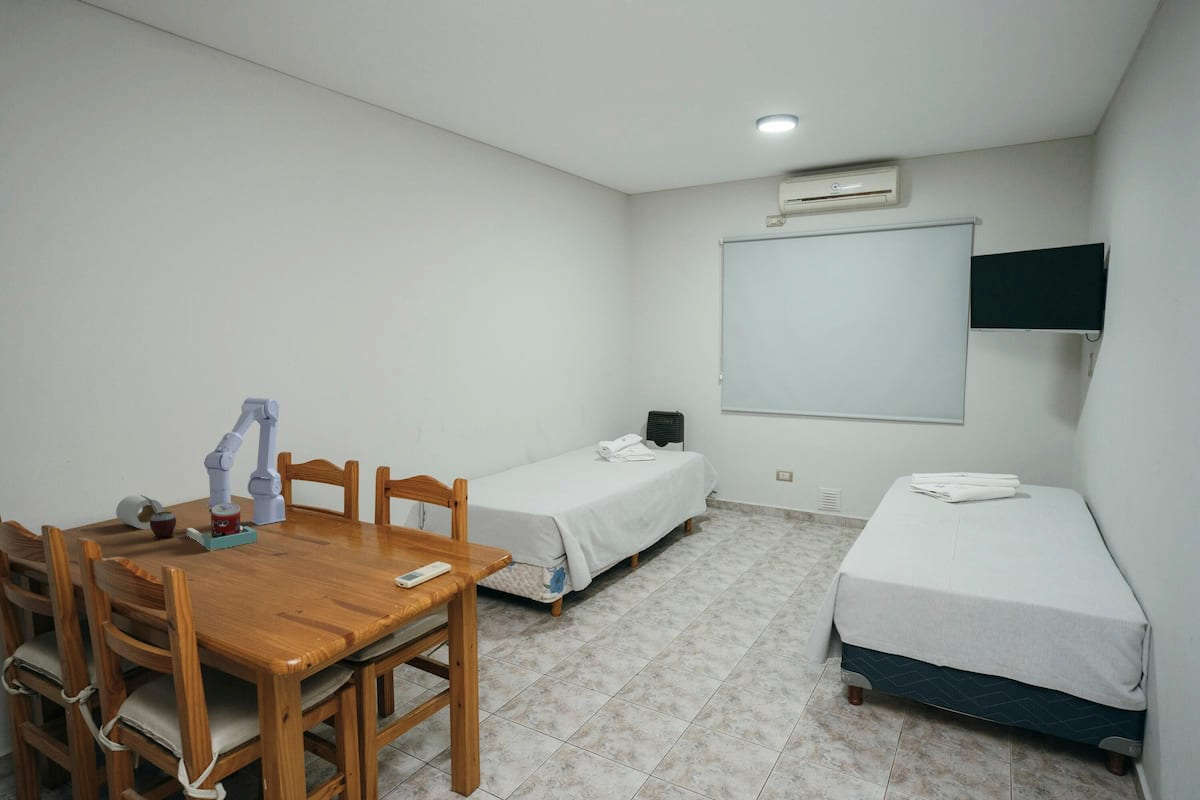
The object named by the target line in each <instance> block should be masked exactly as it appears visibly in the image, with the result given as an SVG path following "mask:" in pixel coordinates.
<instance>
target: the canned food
mask: <svg viewBox="0 0 1200 800" xmlns="http://www.w3.org/2000/svg"><path fill="white" fill-rule="evenodd" d="M222 505H228V506H230V505H231V506H232V509H227V510H226V509H225V508H223V507H221V506H222ZM225 507H226V506H225ZM210 509H211V513H210V521H211V523H210V524H211V525H210V526H211V532H210V533H211V535H210V536H211V537H213V538H218V537H223V536H228V535H233V534H238V533H240V526H241V506H240V505H239V504H237V503H233V502H231V503H221V504H218V505H215V506H214V507H211V508H210Z"/></svg>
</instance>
